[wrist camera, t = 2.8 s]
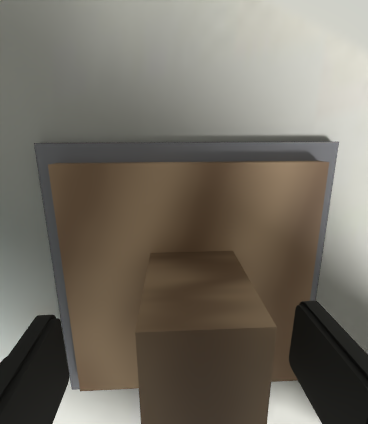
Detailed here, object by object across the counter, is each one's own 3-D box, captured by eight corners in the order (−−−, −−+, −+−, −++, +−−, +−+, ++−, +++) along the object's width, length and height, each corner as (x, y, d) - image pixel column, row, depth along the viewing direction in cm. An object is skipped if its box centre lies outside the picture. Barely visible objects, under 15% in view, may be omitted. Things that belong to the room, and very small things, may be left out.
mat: (331, 141, 14) (338, 141, 14) (299, 370, 18) (304, 378, 18) (40, 143, 13) (34, 143, 13) (75, 381, 18) (71, 389, 17)
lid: (318, 160, 14) (458, 176, 7) (291, 367, 17) (367, 508, 11) (56, 163, 13) (-63, 182, 6) (85, 376, 17) (27, 533, 10)
